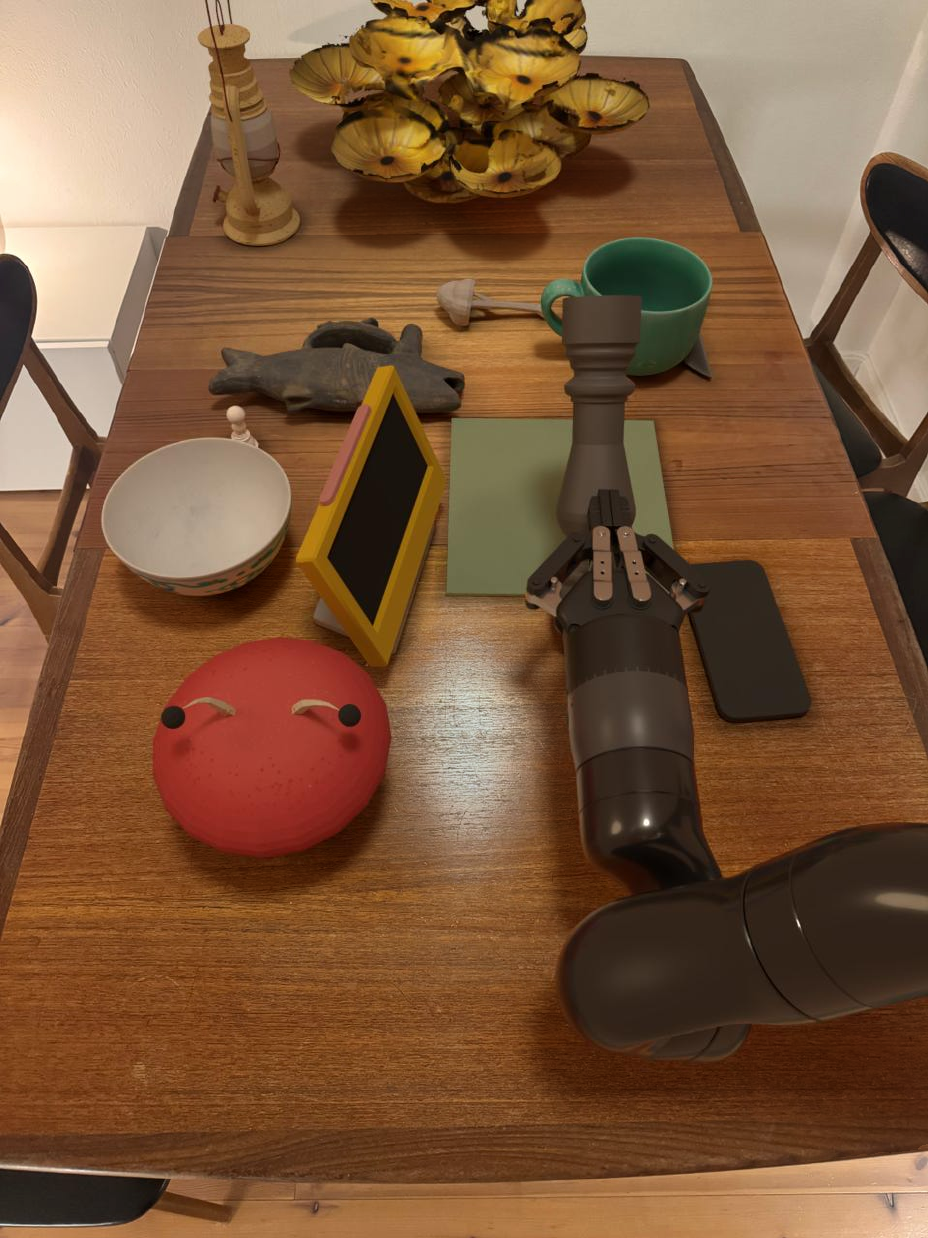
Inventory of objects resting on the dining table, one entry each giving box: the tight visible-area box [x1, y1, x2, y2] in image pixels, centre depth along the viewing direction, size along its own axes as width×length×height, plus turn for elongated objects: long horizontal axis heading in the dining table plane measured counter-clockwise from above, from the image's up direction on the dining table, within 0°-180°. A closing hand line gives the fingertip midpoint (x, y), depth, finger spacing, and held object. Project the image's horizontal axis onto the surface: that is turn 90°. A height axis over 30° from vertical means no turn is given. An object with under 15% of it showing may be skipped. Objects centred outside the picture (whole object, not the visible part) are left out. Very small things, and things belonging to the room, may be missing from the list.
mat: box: [445, 417, 675, 598], centre depth 80 cm, size 20×22×1 cm
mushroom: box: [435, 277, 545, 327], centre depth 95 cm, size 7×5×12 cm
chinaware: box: [100, 437, 293, 597], centre depth 73 cm, size 15×15×8 cm
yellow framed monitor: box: [295, 365, 448, 668], centre depth 69 cm, size 20×8×16 cm, turn 167°
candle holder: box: [553, 295, 642, 633], centre depth 67 cm, size 6×6×25 cm
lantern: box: [197, 0, 301, 247], centre depth 94 cm, size 12×10×30 cm
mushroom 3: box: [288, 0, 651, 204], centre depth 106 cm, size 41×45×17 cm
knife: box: [682, 331, 713, 379], centre depth 94 cm, size 14×4×1 cm, turn 1°
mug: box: [540, 236, 713, 377], centre depth 89 cm, size 17×13×10 cm
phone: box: [688, 559, 812, 723], centre depth 72 cm, size 7×1×15 cm
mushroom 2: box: [152, 636, 393, 859], centre depth 58 cm, size 16×16×15 cm
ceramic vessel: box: [207, 317, 466, 414], centre depth 88 cm, size 5×25×15 cm
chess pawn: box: [225, 405, 259, 448], centre depth 82 cm, size 3×3×5 cm
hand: (606, 496), depth 64 cm, fingers closed
